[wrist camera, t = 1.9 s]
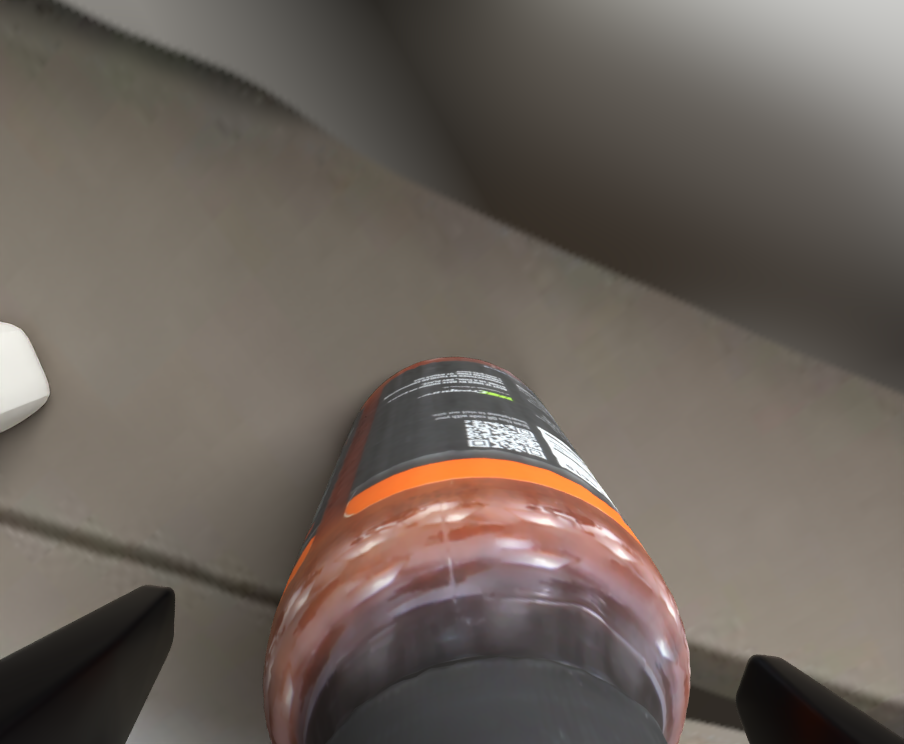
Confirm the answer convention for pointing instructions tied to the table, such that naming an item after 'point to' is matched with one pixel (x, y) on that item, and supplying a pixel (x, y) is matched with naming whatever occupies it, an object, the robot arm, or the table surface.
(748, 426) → the table surface
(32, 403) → the eye dropper bottle
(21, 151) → the table surface
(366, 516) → the supplement bottle
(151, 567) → the table surface
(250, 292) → the table surface
